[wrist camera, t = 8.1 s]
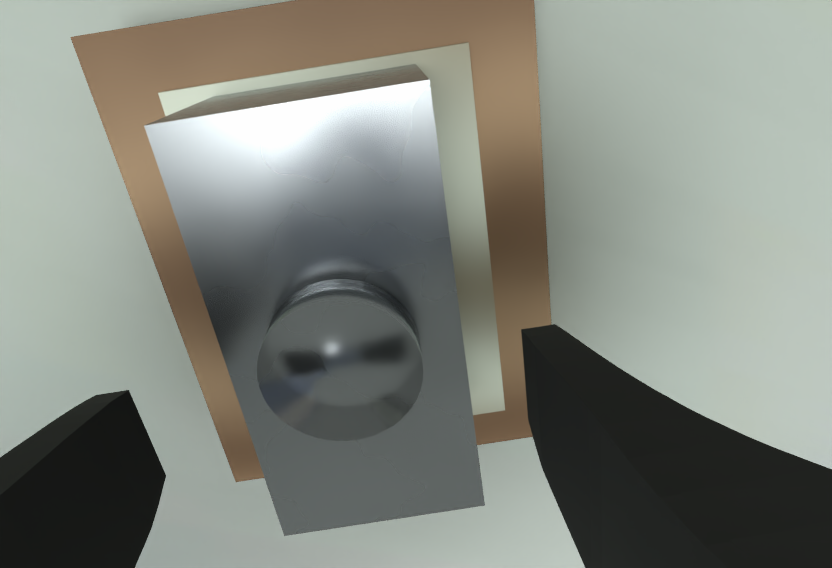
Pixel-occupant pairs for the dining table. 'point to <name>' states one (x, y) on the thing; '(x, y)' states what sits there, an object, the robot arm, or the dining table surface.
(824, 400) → the dining table surface
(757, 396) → the dining table surface
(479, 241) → the stand
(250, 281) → the block
